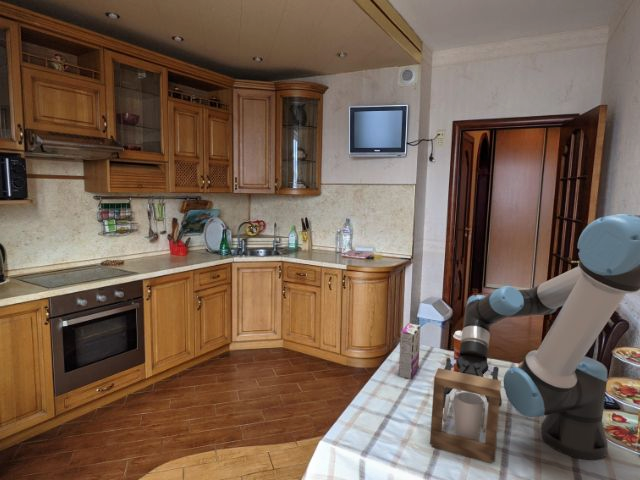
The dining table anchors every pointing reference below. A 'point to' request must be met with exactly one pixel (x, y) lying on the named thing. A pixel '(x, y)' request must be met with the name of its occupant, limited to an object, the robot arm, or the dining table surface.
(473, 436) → the mug
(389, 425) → the dining table surface
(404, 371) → the candy bar box
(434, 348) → the dining table surface
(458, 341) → the coffee cup
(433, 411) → the brown wooden frame
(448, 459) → the dining table surface
